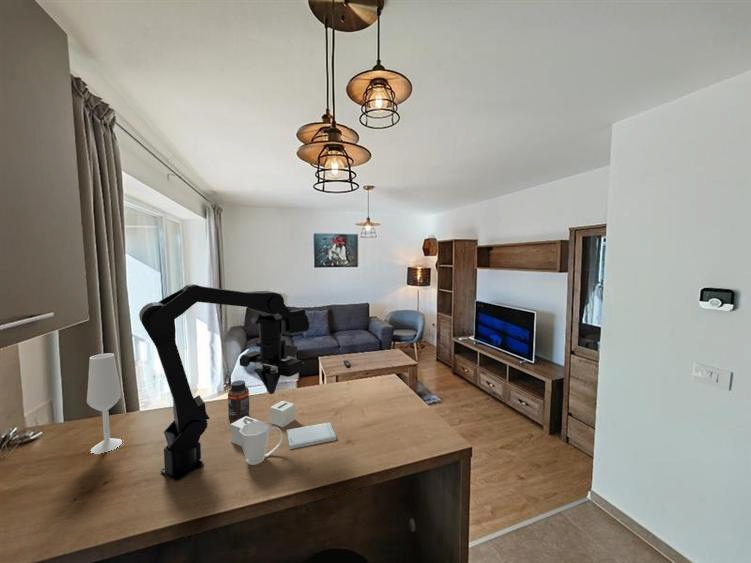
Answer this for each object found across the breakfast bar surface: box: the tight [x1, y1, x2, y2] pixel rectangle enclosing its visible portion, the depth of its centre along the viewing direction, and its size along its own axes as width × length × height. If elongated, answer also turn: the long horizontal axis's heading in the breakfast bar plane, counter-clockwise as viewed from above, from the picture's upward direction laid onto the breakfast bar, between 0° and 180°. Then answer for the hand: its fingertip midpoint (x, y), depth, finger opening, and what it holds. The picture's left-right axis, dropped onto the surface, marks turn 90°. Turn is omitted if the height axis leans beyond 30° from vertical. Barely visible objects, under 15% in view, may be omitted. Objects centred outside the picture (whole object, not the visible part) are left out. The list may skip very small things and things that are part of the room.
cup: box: [239, 420, 284, 466], centre depth 77 cm, size 7×10×8 cm
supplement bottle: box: [227, 379, 251, 423], centre depth 96 cm, size 6×6×11 cm
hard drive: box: [286, 421, 337, 450], centre depth 87 cm, size 2×8×12 cm
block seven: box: [230, 416, 260, 447], centre depth 85 cm, size 5×5×5 cm
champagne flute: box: [86, 352, 123, 455], centre depth 81 cm, size 7×7×24 cm
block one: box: [269, 400, 296, 428], centre depth 95 cm, size 5×5×5 cm
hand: (271, 393), depth 86 cm, fingers closed
